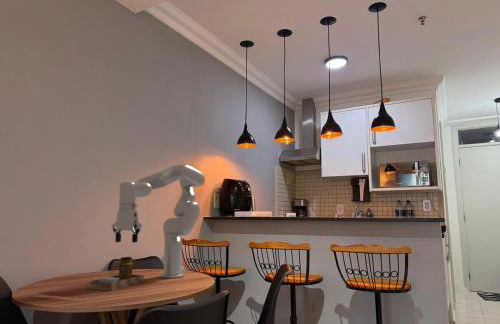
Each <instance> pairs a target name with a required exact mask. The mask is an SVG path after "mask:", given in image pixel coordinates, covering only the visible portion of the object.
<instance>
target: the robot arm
mask: <svg viewBox="0 0 500 324" xmlns="http://www.w3.org/2000/svg"><path fill="white" fill-rule="evenodd" d="M205 178H206V177H205V175H204V174H203V172H201V171H199V170H198V169H196V168H194V167H192V166H190V165H188V164H184V163H183V164H175V165H171V166H170V167H167V168H164V169H163V170H161V171H158V172H156V173H152V174H150V175H148V176H144V177H142V178H140V179H137V180H135V181H122V182H120V183H119V201H118V202H119V203H118V206H119V207H118V210H117V213H116V222H114V223H112V224H111V228H112V231H113V233H114V234H115V243H120V242H122V231H131V232H132V235H131V242H132V243H138V239H139V238H138V235H139V234H140V232H141V230H142V227H143V224H142V223H140V221H139V215H138V210H137V209H136V208H137V207H138V204H136V198H146V197H148V196H149V195H151V193H152V190H156V189H158V190H159V189H161V188H164V187H167V186H168V185H170V184H172V183H174V182H176V181H179V185H180V188H181V189H180V190H181V195H180V197H179V199H178V201H177V202H176V204H175V206H174V209H173V215H174V216H175V217H170V218H167V219H165V221H164V223H163V225H162V229H163V236H164V248H163V249H164V250H163V252H164V255H163V272H162V273H161V274H160V277H161V278H164V279H165V278H166V279H174V278H182V277H184V276H185V273H184V272H183V271H184V270H185V267H184V266H182V264H183V263H182V259H183V258H182V257H183V254H182V253H183V242H182V240H183V239H182V238H181V236H188V235H190V233H192V231H193V229H194V227H195V225H196V223H197V222H198V218H199V217H200V213H201V207H200V205H199V204H198V202H196V201H195V200H196V192H195V190H194V188H199V187H202V186H203V185H204V183H206V179H205Z"/></svg>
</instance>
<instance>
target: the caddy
mask: <svg viewBox="0 0 500 324" xmlns="http://www.w3.org/2000/svg"><path fill="white" fill-rule="evenodd" d="M110 277H113V278H119V274H115V275H111V276H110ZM144 277H145V276H144V274H132V278H129V279H119V281H117V282H114V283H110V282H99V278H98V279H94V280H89V282H88V290H89V289H90V290H100V291H101V290H102V291H116V290H119V289H122V288H126V287H129V286H133V285H136V284H140V283H143V282H144Z"/></svg>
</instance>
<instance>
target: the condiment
mask: <svg viewBox="0 0 500 324" xmlns="http://www.w3.org/2000/svg"><path fill="white" fill-rule="evenodd" d="M132 260H133V257H131V256H123V257H120V262H119V264H118V267H119V268H118V275H119V279H129V278H132V275H133V261H132Z"/></svg>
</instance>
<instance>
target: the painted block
mask: <svg viewBox="0 0 500 324" xmlns="http://www.w3.org/2000/svg"><path fill="white" fill-rule="evenodd" d="M98 279H99V282H110V283H114V282H117V281H119V278H113V277H111V276H104V277H99V278H98Z"/></svg>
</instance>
